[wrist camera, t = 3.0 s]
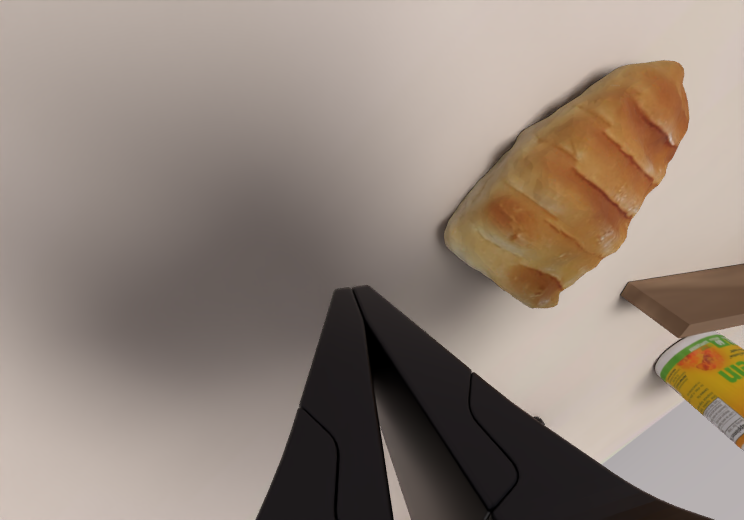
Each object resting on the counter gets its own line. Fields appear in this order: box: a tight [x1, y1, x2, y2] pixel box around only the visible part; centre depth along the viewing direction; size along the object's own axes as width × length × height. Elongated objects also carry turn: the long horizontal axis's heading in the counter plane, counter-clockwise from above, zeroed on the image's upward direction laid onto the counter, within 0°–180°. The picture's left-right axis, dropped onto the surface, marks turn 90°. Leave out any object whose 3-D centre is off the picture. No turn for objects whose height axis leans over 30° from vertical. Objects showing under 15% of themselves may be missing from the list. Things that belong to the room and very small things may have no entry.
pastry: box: [444, 60, 689, 308], centre depth 12 cm, size 9×7×4 cm
